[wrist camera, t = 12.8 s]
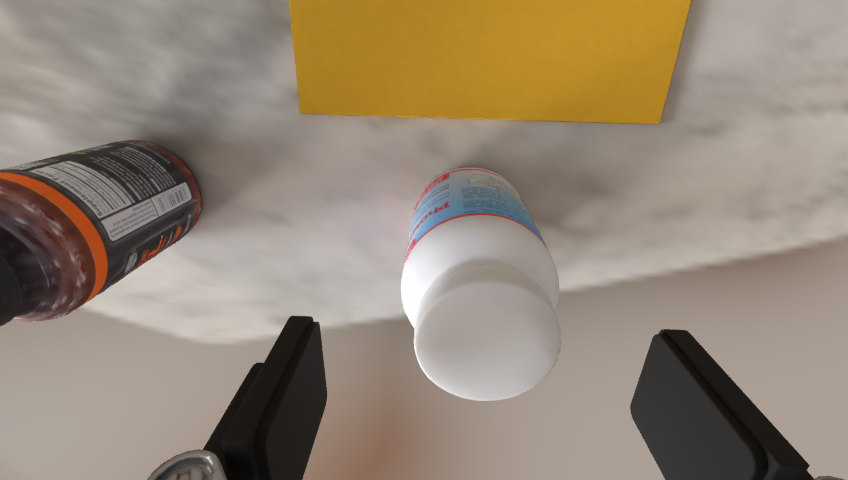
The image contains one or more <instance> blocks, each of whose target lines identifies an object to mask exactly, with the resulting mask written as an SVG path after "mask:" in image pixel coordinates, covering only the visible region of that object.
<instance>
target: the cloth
mask: <svg viewBox="0 0 848 480" xmlns="http://www.w3.org/2000/svg"><path fill="white" fill-rule="evenodd" d="M289 4H290V14H291V24H292V34H293V44H294V54H295V64H296V74H297V84H298V94H299V104H300V113H301V114H328V115H362V116H395V117H429V118H462V119H496V120H530V121H563V122H597V123H630V124H660V121H661V117H662V113H663V109H664V105H665V101H666V97H667V93H668V90H669V86H670V82H671V78H672V74H673V70H674V66H675V62H676V58H677V55H678V51H679V47H680V43H681V39H682V35H683V31H684V27H685V23H686V20H687V16H688V12H689V8H690V4H691V0H289Z"/></svg>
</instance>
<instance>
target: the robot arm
mask: <svg viewBox="0 0 848 480" xmlns="http://www.w3.org/2000/svg"><path fill="white" fill-rule="evenodd" d="M326 401H327V388H326V379H325V369H324V361H323V352H322V342H321V333H320V325H319V322H313V318H312V317H310V316H291V317H290V318H289V319H288V321H287V323H286V325H285V326H284V328H283V330H282V332H281V334H280V335H279V337H278V339H277V341H276V342H275V344H274V346H273V348H272V350H271V351H270V353H269V355H268V357H267V359H266V360H265V362H264V363H256V364H254V365H253V367H252V368H251V370H250V371H249V373H248V374H247V376H246V378H245V380H244V381H243V383H242V385H241V386H240V388H239V390H238V391H237V393H236V395H235V396H234V398H233V400H232V401H231V403H230V405H229V406H228V409H227V410H226V412H225V413H224V415H223V417H222V418H221V420H220V422H219V423H218V425H217V427H216V428H215V430H214V432H213V434H212V435H211V437H210V439H209V440H208V442H207V444H206V445H205V447H204V449H203V450H193V451H187V452H184V453H181V454H179V455H176V456H174V457H172V458H171V459H169V460H167V461H166V462H164V463H163V464H162V465H160V466H159V467H158V468H157V469H156V470H155V471H154V472H153V473H152V474H151V476H150V477H149V478H148V479H147V480H302V479H303V475H304V472H305V469H306V466H307V463H308V459H309V456H310V453H311V450H312V447H313V444H314V441H315V437H316V434H317V431H318V428H319V425H320V422H321V418H322V415H323V412H324V409H325V406H326ZM630 409H631V415H632V418H633V420H634V422H635V424H636V426H637V427H638V429H639V431H640V433H641V435H642V437H643V439H644V440H645V442H646V444H647V446H648V448H649V450H650V452H651V454H652V455H653V457H654V459H655V461H656V463H657V465H658V466H659V468H660V470H661V472H662V474H663V476H664V478H665V480H844V479H840V478H835V477H831V476H819V477H817V478H815V479H814V478H813V477H812V476H811V475H810V474H809V473H808V471H807V469H808V467H809V465H808V463H807V462H806V461H805V460H804V459H803V458H802V456H801V455H800V454H799V453H798V452H797V451H796V450H795V449H794V448H793V447H792V445H790V443H789V442H788V441H787V440H786V439H785V438H784V437H783V436H782V435H781V434H780V432H779V431H778V430H777V429H776V428H775V427H774V426H773V425H772V423H771V422H770V421H769V420H768V419H767V418H766V417H765V416H764V415H763V413H761V411H760V410H759V409H758V408H757V407H756V406H755V405H754V404H753V403H752V401H751V400H750V399H749V398H748V397H747V396H746V395H745V394H744V393H743V391H742V390H741V389H740V388H739V387H738V386H737V385H736V384H735V383H734V382H733V380H732V379H731V378H730V377H729V376H728V375H727V374H726V373H725V372H724V370H722V368H721V367H720V366H719V365H718V364H717V363H716V362H715V361H714V359H713V358H712V357H711V356H710V355H709V354H708V353H707V352H706V351H705V350H704V348H703V347H702V346H701V345H700V344H699V343H698V342H697V341H696V340H695V338H694V337H693V336H692V335H691V334H690V333H689V332H688V331H685V330H669V329H667V330H666V329H664V330H661V331H660V332H659V334H657V335H655V336H654V337H653V339H652V342H651V345H650V348H649V351H648V354H647V357H646V360H645V363H644V366H643V369H642V372H641V375H640V378H639V381H638V384H637V387H636V390H635V393H634V396H633V399H632V402H631V406H630Z"/></svg>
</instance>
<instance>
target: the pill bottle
mask: <svg viewBox="0 0 848 480" xmlns="http://www.w3.org/2000/svg"><path fill="white" fill-rule="evenodd" d="M558 295H559V279H558V273H557V269H556V266H555V264H554V261H553V259H552V256H551V254H550V252H549V250H548V248H547V247H546V245H545V243H544V241H543V239H542V237H541V235H540V233H539V231H538V229H537V228H536V226H535V224H534V222H533V220H532V218H531V216H530V214H529V212H528V210H527V209H526V207H525V205H524V203H523V201H522V199H521V197H520V195H519V194H518V192H517V191H516V189H515V188H514V187H513V185H512V184H511V183H510V182H509V181H508V180H506V179H505V178H504V177H502V176H501V175H499V174H497V173H495V172H493V171H490V170H487V169H482V168H472V167H467V168H458V169H453V170H450V171H447V172H445V173H442V174H441V175H439V176H437V177H436V178H434V179H433V180H432V181H431V182H430V183H429V184H428V185H427V186H426V187H425V188H424V190H423V191H422V193H421V194H420V196H419V198H418V200H417V203H416V206H415V210H414V215H413V220H412V225H411V229H410V236H409V241H408V246H407V250H406V256H405V261H404V267H403V272H402V281H401V296H402V302H403V306H404V309H405V312H406V314H407V316H408V319H409V320H410V322H411V324H412V325H413V327H414V328H415V333H414V348H415V353H416V357H417V359H418V362H419V364H420V367H421V368H422V370H423V371H424V373H425V374H426V375H427V377H428V378H429V379H430V380H432V381H433V382H434V383H435V384H436V385H437V386H439V387H440V388H442V389H443V390H445V391H447V392H449V393H451V394H454V395H456V396H459V397H462V398H466V399H470V400H479V401H493V400H501V399H507V398H510V397H514V396H517V395H520V394H522V393H524V392H526V391H528V390H530V389H532V388H533V387H535V386H536V385H537V384H539V383H540V382H541V381H542V380H543V379H544V378H545V377H546V376H547V375H548V374H549V373H550V371H551V370H552V368H553V367H554V365H555V364H556V361H557V359H558V355H559V352H560V346H561V332H560V327H559V323H558V320H557V318H556V315H555V309H556V305H557V301H558Z"/></svg>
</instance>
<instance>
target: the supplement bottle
mask: <svg viewBox="0 0 848 480" xmlns="http://www.w3.org/2000/svg"><path fill="white" fill-rule="evenodd" d="M201 207H202V200H201V194H200V191H199V188H198V184H197V182H196V180H195V178H194V176H193V174H192V173H191V171H190V170H189V168H188V167H187V166H186V165H185V164H184V163H183V162H182V161H181V160H180V159H179V158H178V157H177V156H175V155H174V154H172V153H171V152H169V151H168V150H167V149H165V148H163V147H161V146H159V145H156V144H153V143H150V142H144V141H138V140H129V141H121V142H114V143H110V144H106V145H101V146H97V147H93V148H89V149H85V150H81V151H77V152H72V153H68V154H64V155H59V156H56V157H51V158H47V159H43V160H39V161H35V162H31V163H27V164H23V165H19V166H15V167H10V168H6V169H2V170H0V326H2V325H4V324H6V323H7V322H9V321H11V320H12V319H13V320H21V321H29V322H31V321H44V320H51V319H55V318H58V317H61V316H63V315H67V314H69V313H70V312H72V311H73V310H75V309H77V308H78V307H80V306H82V305H83V304H85V303H86V302H87V301H89V300H91V299H92V298H94V297H95V296H96V295H98V294H100V293H102V292H103V291H105V290H106V289H107V288H109V287H110V286H111V285H113V284H115V283H116V282H118V281H119V280H121V279H122V278H124V277H125V276H126V275H128V274H129V273H130V272H132V271H133V270H135V269H136V268H138V267H139V266H141V265H142V264H144V263H145V262H147V261H148V260H150V259H151V258H153V257H155V256H156V255H157V254H159V253H160V252H162V251H163V250H164V249H166V248H168V247H169V246H171V245H172V244H174V243H176V242H177V241H179V240H180V239H181V238H183V237H184V236H185V235H186V234H187V233H188V232H189V231H190V230H191V229H192V228H193V227H194V226H195V224H196V223H197V221H198V218H199V216H200V212H201Z"/></svg>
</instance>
